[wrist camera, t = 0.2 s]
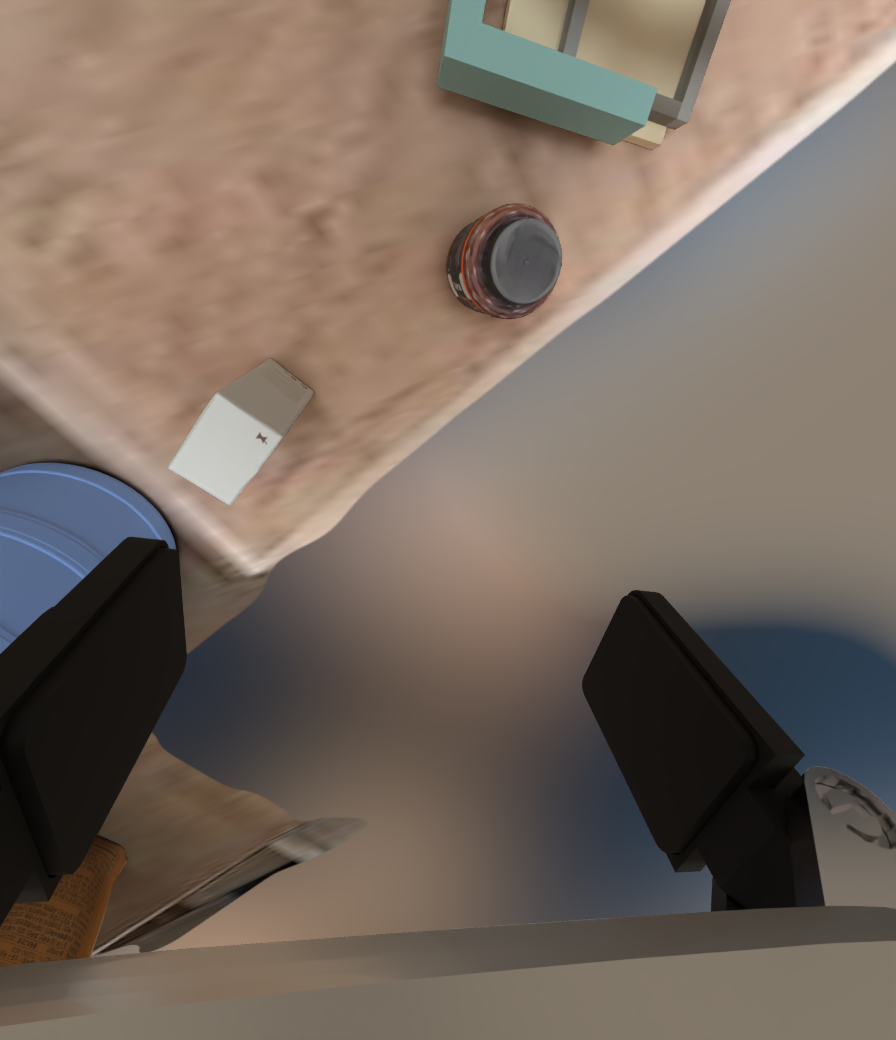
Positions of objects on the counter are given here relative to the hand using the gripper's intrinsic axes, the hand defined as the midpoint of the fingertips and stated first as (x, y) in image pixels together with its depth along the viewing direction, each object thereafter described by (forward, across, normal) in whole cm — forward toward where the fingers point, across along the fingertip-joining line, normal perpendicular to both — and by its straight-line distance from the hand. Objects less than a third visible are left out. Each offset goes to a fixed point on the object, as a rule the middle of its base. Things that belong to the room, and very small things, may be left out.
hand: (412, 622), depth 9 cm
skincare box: (+31, +9, +4) cm, 32 cm away
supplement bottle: (+30, -6, -9) cm, 32 cm away
